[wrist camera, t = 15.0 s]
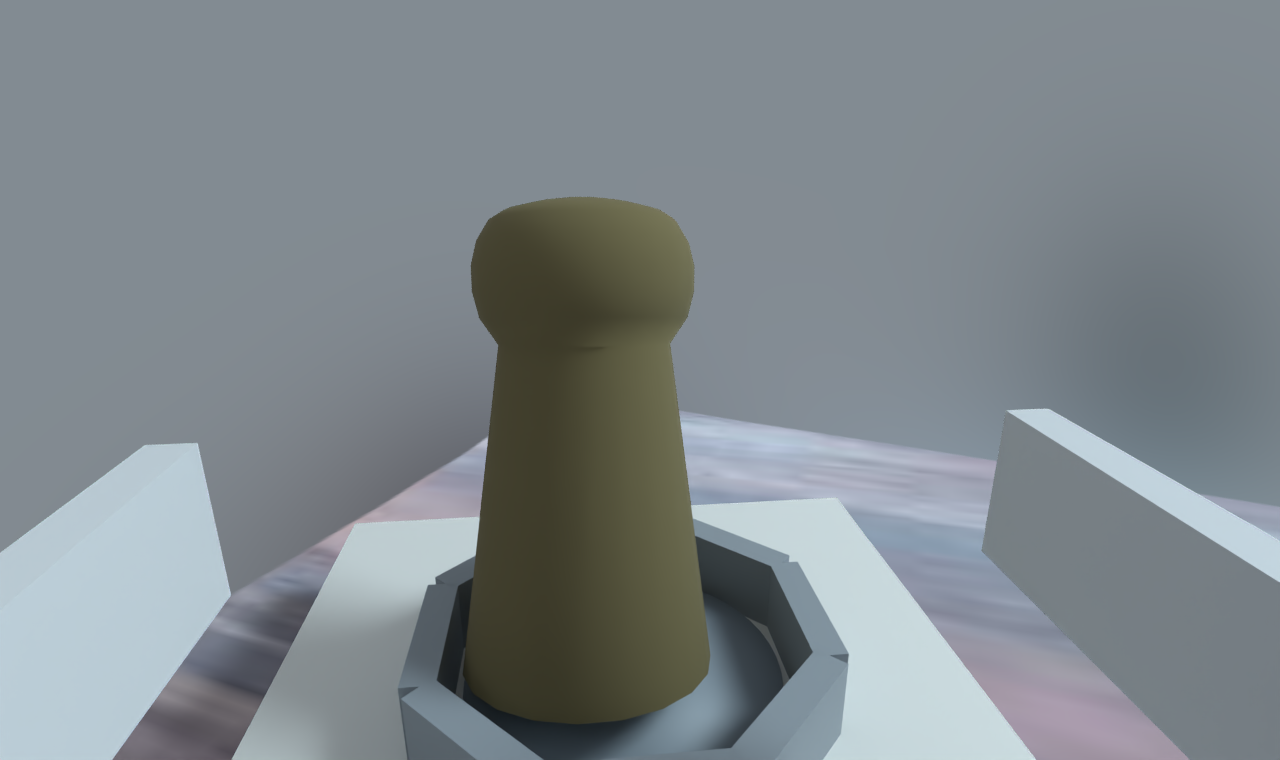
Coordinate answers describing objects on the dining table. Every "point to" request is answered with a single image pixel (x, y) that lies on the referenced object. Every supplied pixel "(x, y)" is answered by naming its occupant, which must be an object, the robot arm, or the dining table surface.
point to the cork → (584, 468)
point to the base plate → (657, 741)
